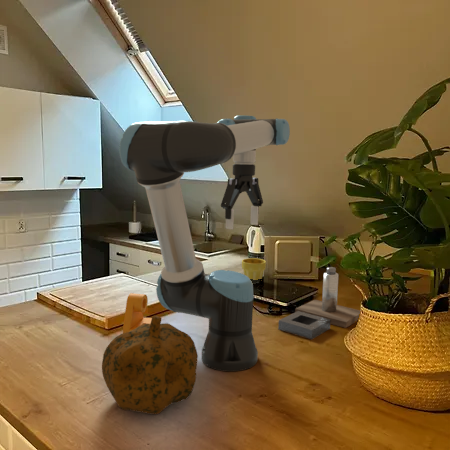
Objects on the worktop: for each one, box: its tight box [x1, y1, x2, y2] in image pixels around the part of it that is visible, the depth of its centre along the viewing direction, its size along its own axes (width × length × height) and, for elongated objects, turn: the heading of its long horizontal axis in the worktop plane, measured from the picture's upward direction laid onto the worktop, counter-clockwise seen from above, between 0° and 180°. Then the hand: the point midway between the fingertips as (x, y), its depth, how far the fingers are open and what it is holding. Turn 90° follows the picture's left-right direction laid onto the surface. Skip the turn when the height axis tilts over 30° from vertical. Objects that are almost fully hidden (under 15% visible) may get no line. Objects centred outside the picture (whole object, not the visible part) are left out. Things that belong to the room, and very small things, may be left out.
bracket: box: [122, 292, 152, 334], centre depth 138 cm, size 11×7×12 cm, turn 168°
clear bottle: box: [321, 266, 339, 312], centre depth 156 cm, size 5×5×15 cm
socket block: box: [277, 311, 331, 340], centre depth 144 cm, size 12×12×3 cm
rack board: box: [294, 299, 361, 329], centre depth 157 cm, size 14×19×2 cm
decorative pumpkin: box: [101, 315, 198, 415], centre depth 99 cm, size 20×21×20 cm
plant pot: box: [241, 257, 267, 280], centre depth 196 cm, size 10×10×10 cm
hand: (242, 226), depth 153 cm, fingers open, 13 cm apart
